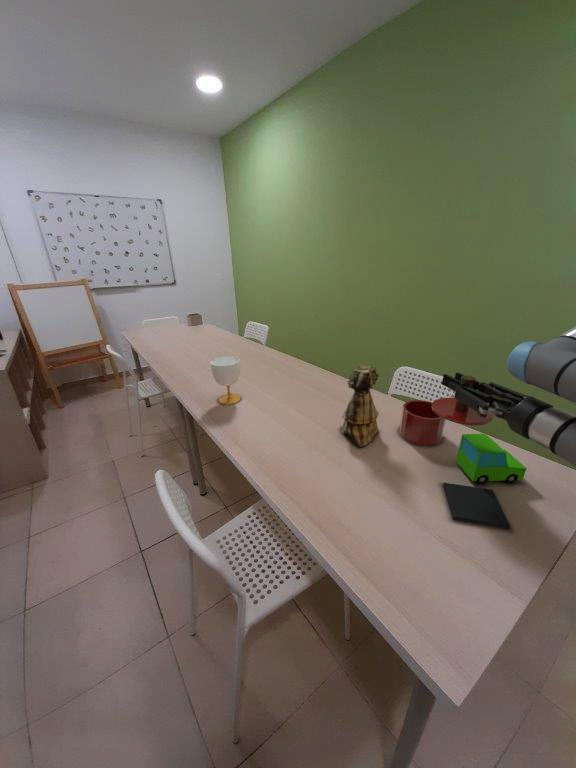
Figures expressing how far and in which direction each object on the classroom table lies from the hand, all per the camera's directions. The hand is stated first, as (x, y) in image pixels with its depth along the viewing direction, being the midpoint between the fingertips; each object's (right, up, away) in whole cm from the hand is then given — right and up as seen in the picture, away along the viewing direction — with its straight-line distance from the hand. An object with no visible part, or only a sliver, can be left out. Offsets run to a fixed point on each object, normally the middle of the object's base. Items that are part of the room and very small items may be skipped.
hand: (450, 378), depth 77 cm
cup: (-66, -8, +49) cm, 83 cm away
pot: (+2, -18, +21) cm, 28 cm away
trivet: (+2, -30, -6) cm, 31 cm away
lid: (+2, -8, -2) cm, 9 cm away
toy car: (+12, -26, +4) cm, 29 cm away
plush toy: (-19, -18, +23) cm, 35 cm away
